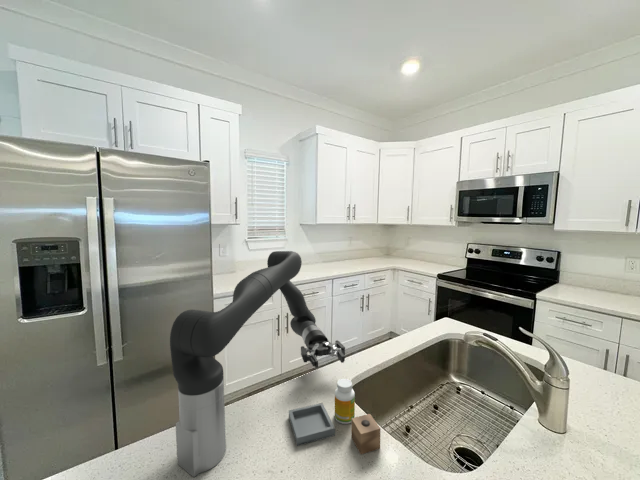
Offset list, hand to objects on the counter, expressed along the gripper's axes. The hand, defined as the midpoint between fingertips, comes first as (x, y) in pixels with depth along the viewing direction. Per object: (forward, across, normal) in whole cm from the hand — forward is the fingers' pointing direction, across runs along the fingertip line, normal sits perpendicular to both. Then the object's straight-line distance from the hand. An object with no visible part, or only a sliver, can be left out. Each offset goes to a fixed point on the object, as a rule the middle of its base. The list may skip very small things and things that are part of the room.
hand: (330, 362), depth 83 cm
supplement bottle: (+12, 0, +9) cm, 15 cm away
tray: (+12, -10, +9) cm, 18 cm away
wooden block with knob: (+21, +1, +9) cm, 23 cm away
